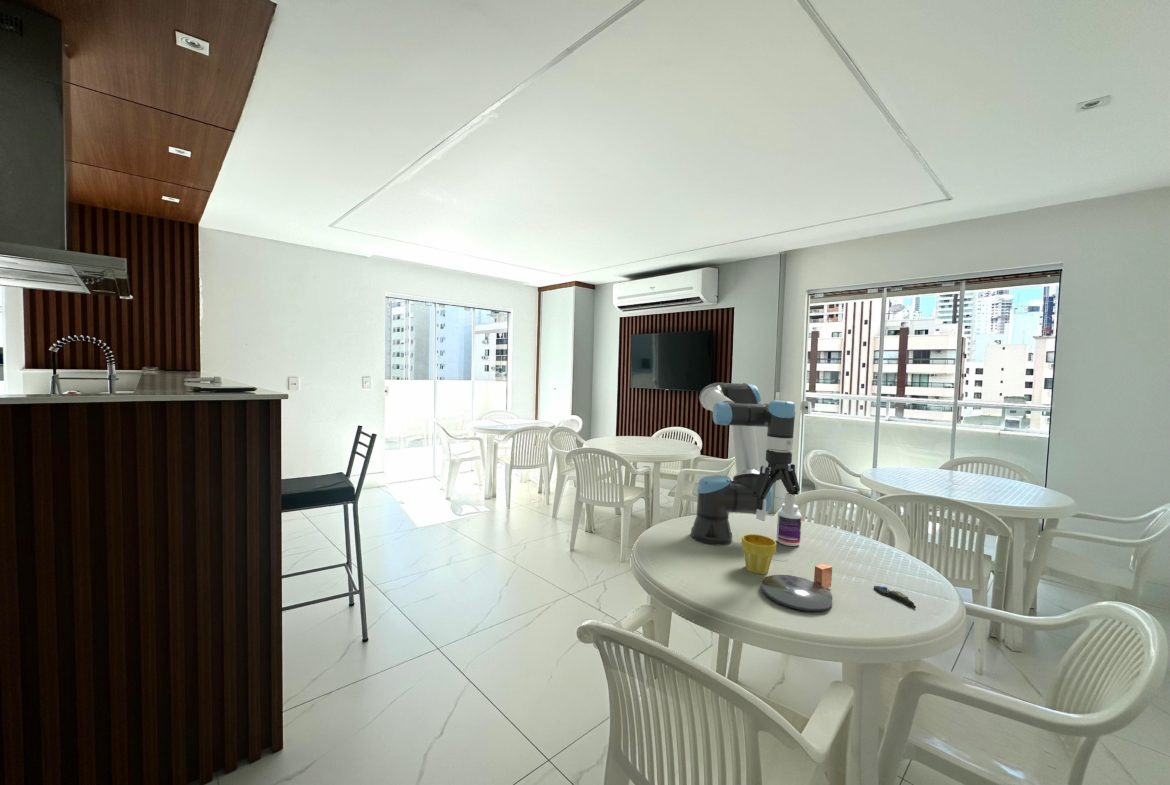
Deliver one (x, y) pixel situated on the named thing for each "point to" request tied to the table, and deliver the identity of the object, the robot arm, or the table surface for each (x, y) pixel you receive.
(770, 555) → the plant pot
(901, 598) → the micrometer
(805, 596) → the grey round piece
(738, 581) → the table surface
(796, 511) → the pill bottle
